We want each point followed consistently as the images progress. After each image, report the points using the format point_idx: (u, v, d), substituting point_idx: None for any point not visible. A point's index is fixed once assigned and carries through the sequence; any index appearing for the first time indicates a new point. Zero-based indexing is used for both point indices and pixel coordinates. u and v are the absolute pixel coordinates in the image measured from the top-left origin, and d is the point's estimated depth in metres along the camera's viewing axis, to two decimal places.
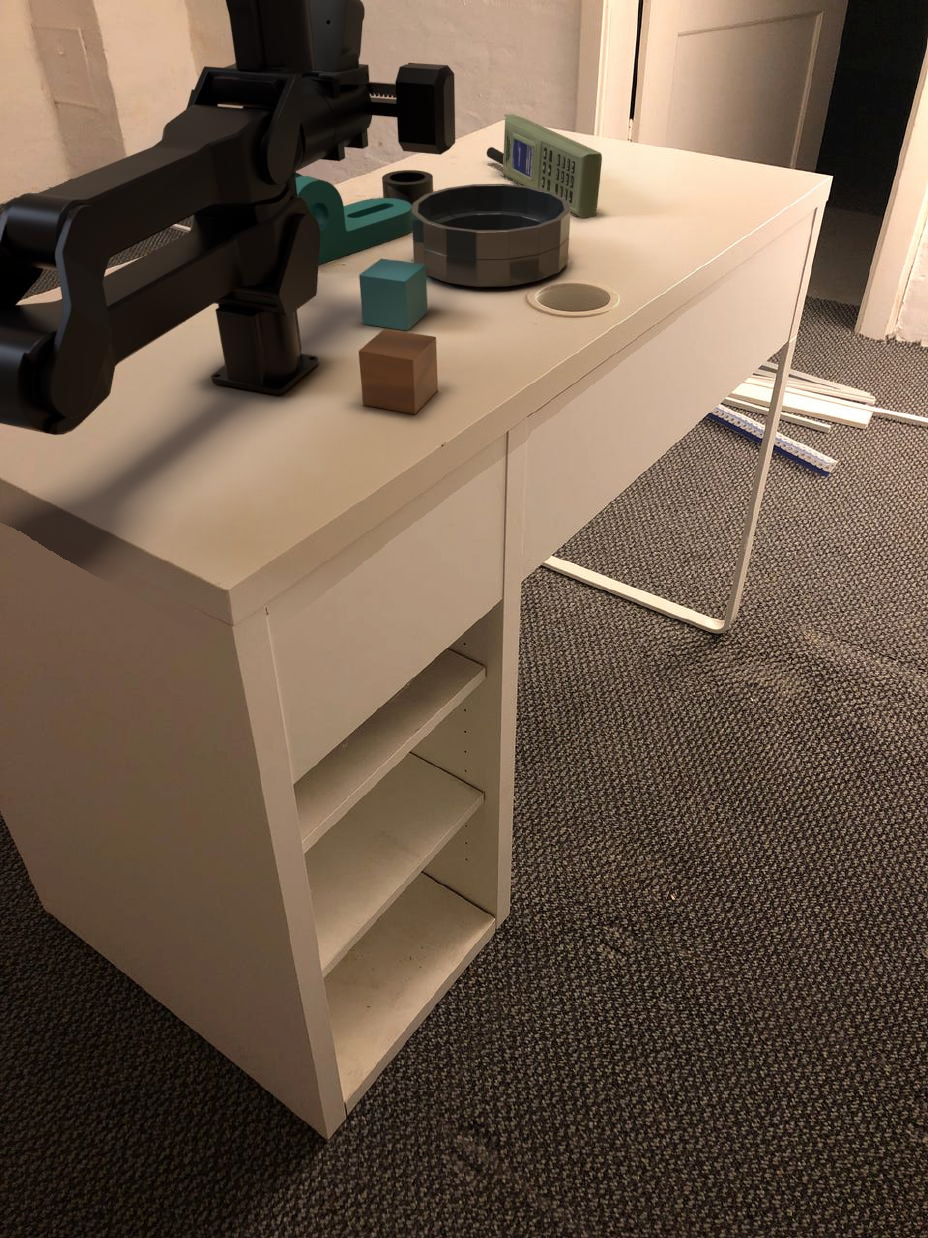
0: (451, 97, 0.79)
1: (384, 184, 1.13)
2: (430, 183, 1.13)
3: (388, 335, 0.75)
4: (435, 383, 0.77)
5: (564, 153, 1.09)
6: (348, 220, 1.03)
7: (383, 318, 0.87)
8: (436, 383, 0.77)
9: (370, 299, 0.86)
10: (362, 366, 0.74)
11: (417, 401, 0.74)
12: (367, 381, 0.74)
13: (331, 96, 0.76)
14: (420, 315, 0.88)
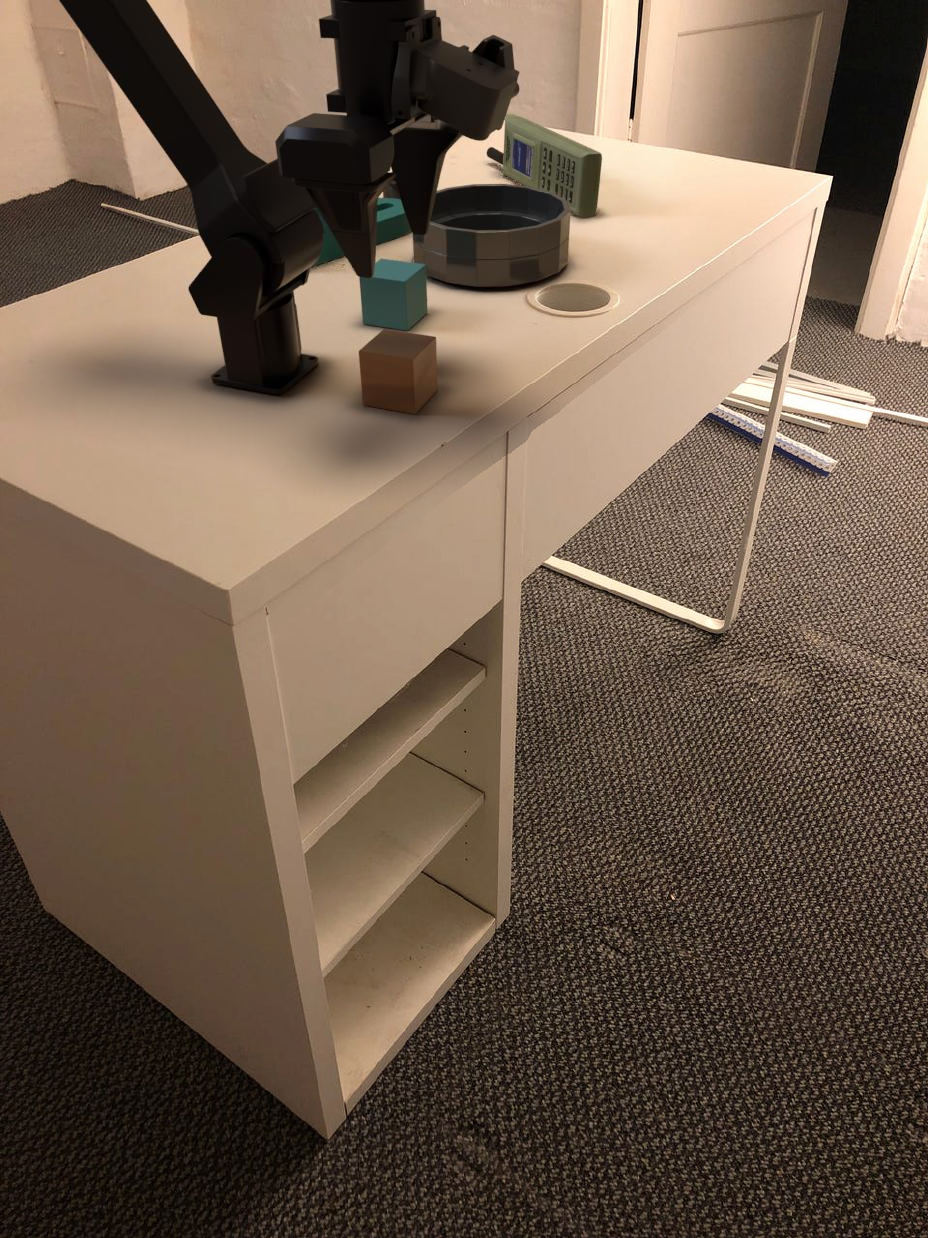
0: (333, 168, 0.58)
1: None
2: None
3: (388, 335, 0.75)
4: (435, 383, 0.77)
5: (564, 153, 1.09)
6: None
7: (383, 318, 0.87)
8: (436, 383, 0.77)
9: (370, 299, 0.86)
10: (362, 366, 0.74)
11: (417, 401, 0.74)
12: (367, 381, 0.74)
13: (389, 19, 0.59)
14: (420, 315, 0.88)
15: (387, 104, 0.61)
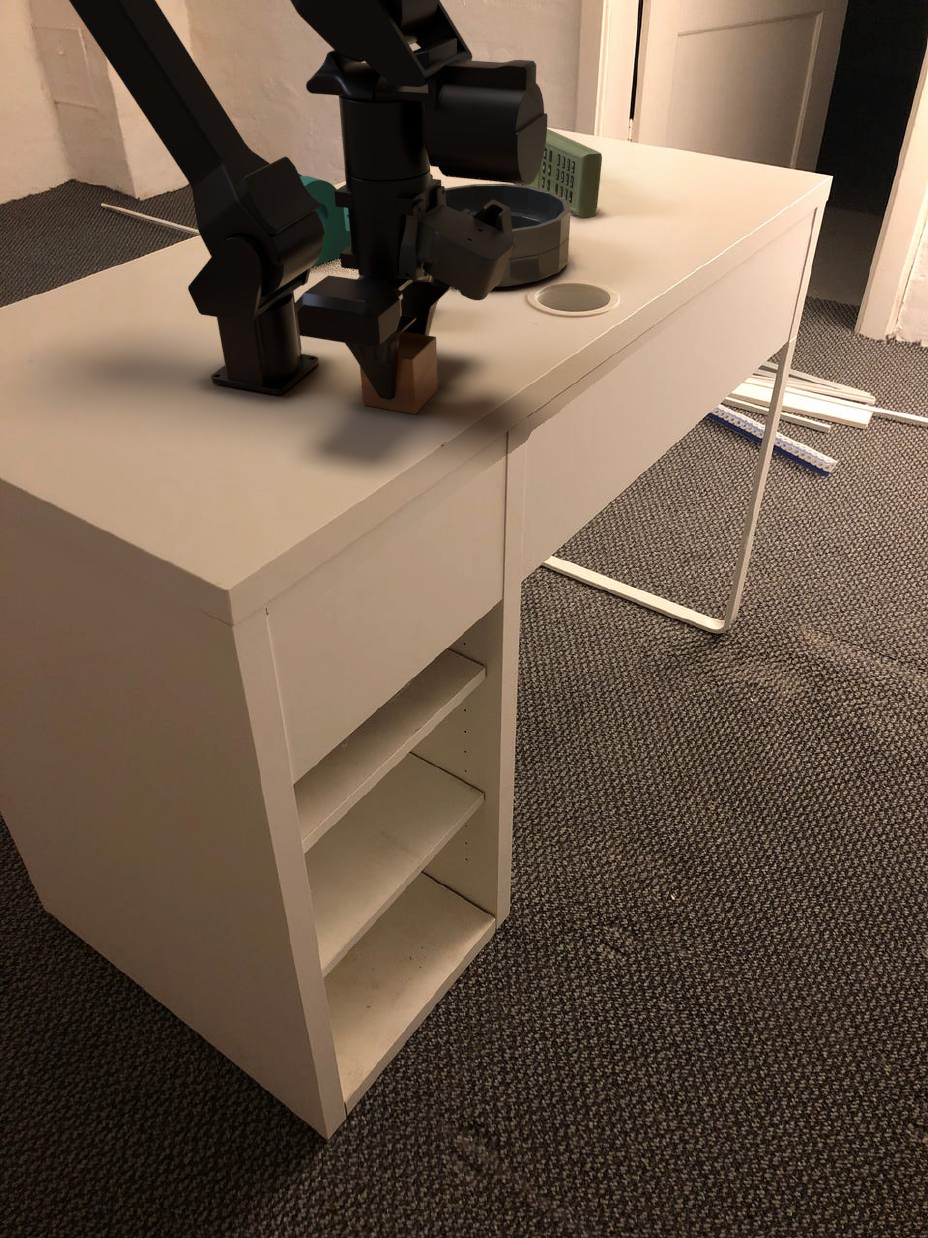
0: (345, 332, 0.64)
1: None
2: None
3: None
4: (435, 383, 0.77)
5: (564, 153, 1.09)
6: (348, 220, 1.03)
7: None
8: (436, 383, 0.77)
9: None
10: None
11: (417, 400, 0.74)
12: (367, 381, 0.74)
13: (398, 196, 0.65)
14: None
15: (395, 265, 0.68)
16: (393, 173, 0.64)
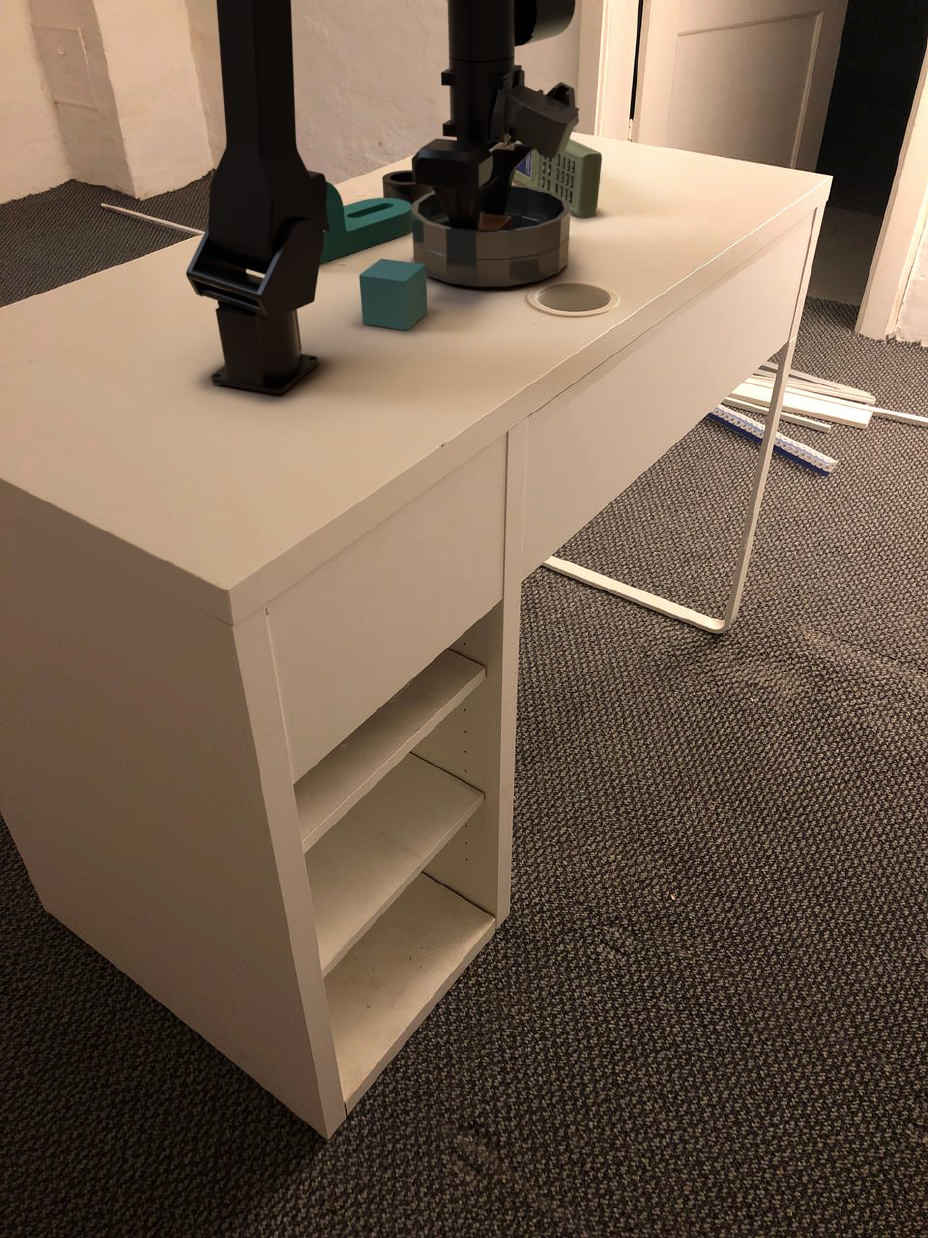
0: (452, 178, 0.84)
1: (384, 184, 1.13)
2: None
3: None
4: None
5: (564, 153, 1.09)
6: (348, 220, 1.03)
7: (383, 318, 0.87)
8: None
9: (370, 299, 0.86)
10: None
11: None
12: None
13: (491, 74, 0.85)
14: (420, 315, 0.88)
15: (486, 132, 0.87)
16: (514, 49, 0.86)
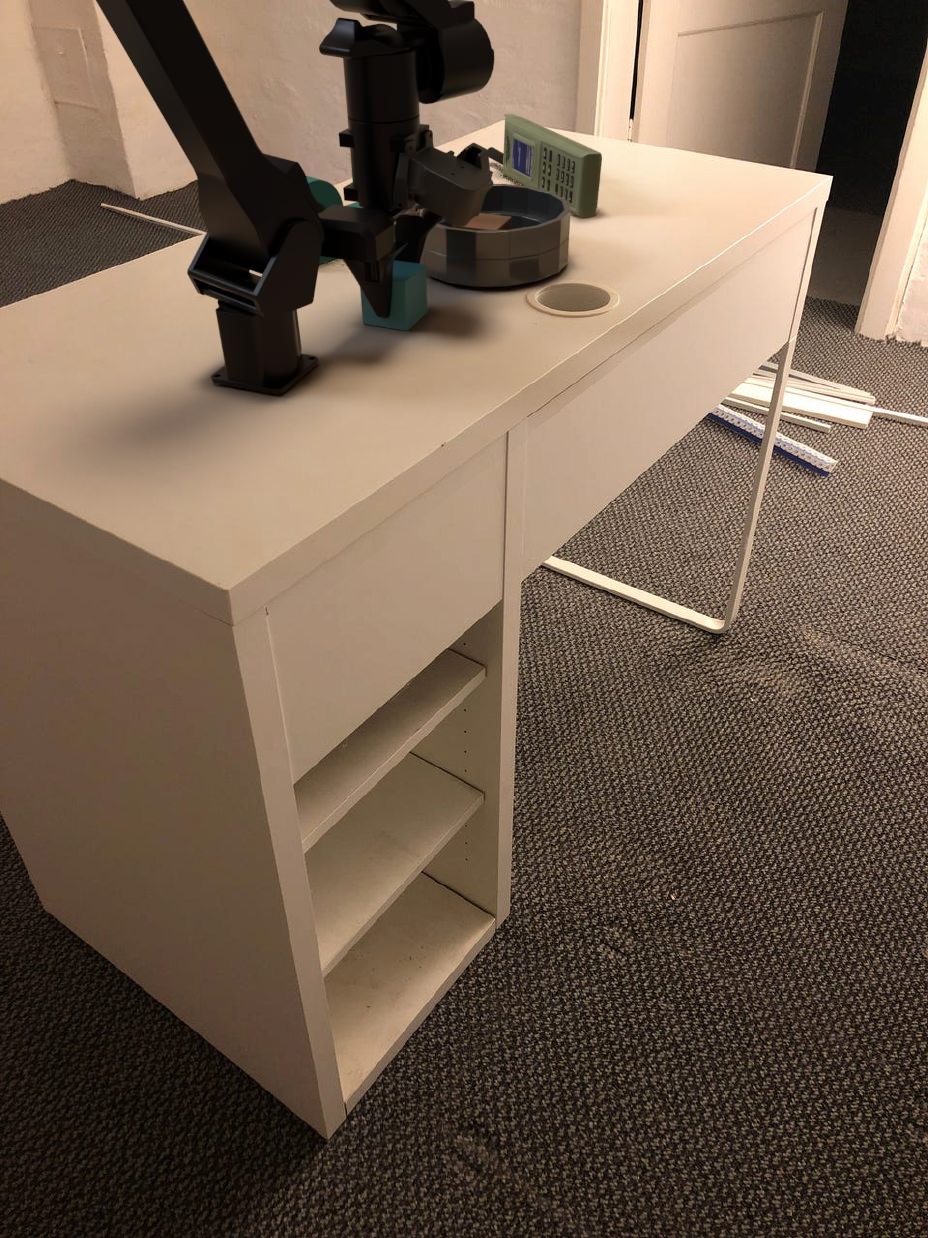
0: (348, 250, 0.76)
1: None
2: None
3: None
4: None
5: (564, 153, 1.09)
6: None
7: (383, 318, 0.87)
8: None
9: None
10: None
11: None
12: None
13: (392, 136, 0.77)
14: (420, 315, 0.88)
15: (390, 197, 0.80)
16: None
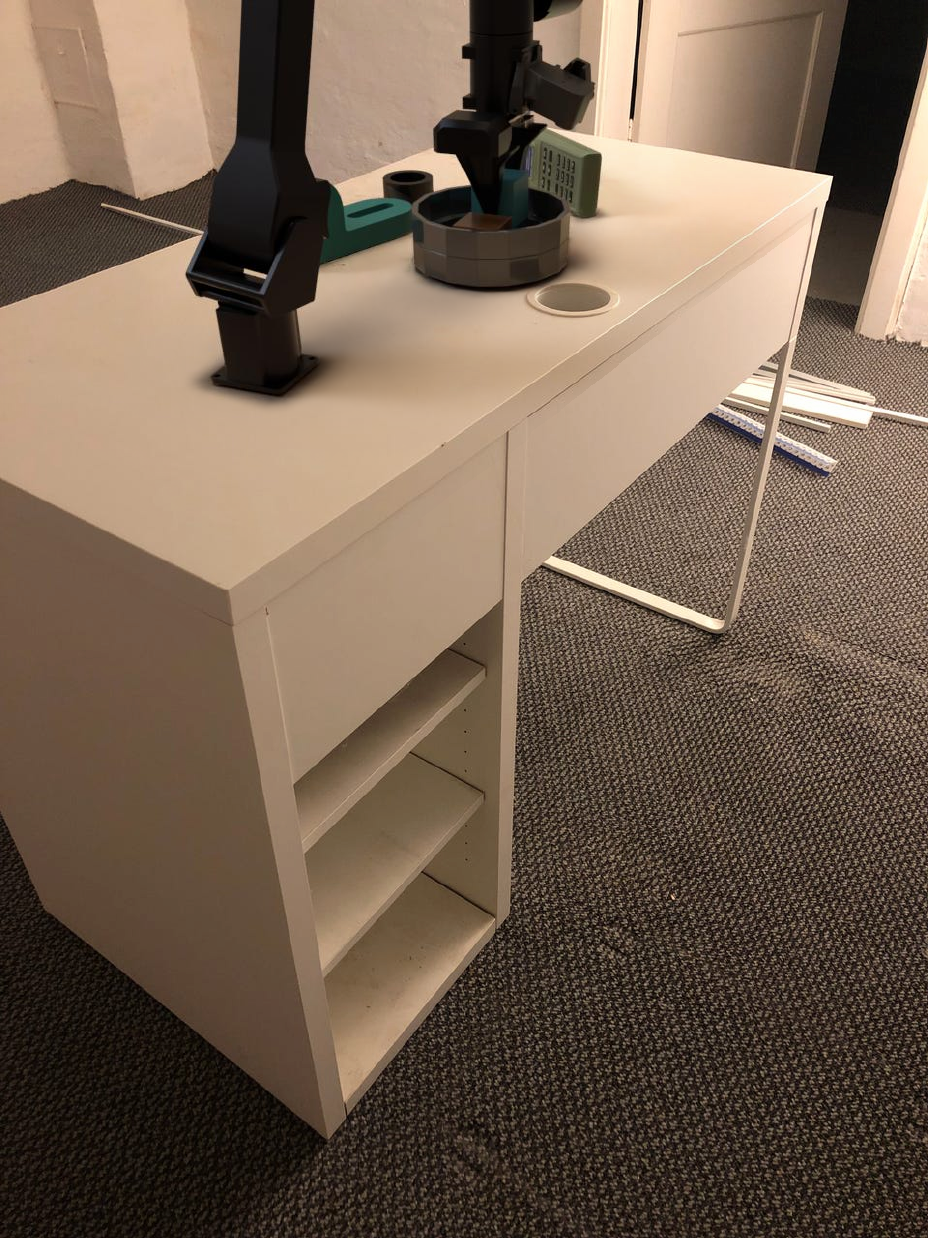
0: (473, 147, 0.86)
1: (384, 184, 1.13)
2: (431, 183, 1.13)
3: (474, 215, 0.96)
4: None
5: (564, 153, 1.09)
6: (348, 220, 1.03)
7: None
8: None
9: None
10: None
11: None
12: None
13: (511, 47, 0.87)
14: (522, 218, 0.99)
15: (505, 104, 0.90)
16: None
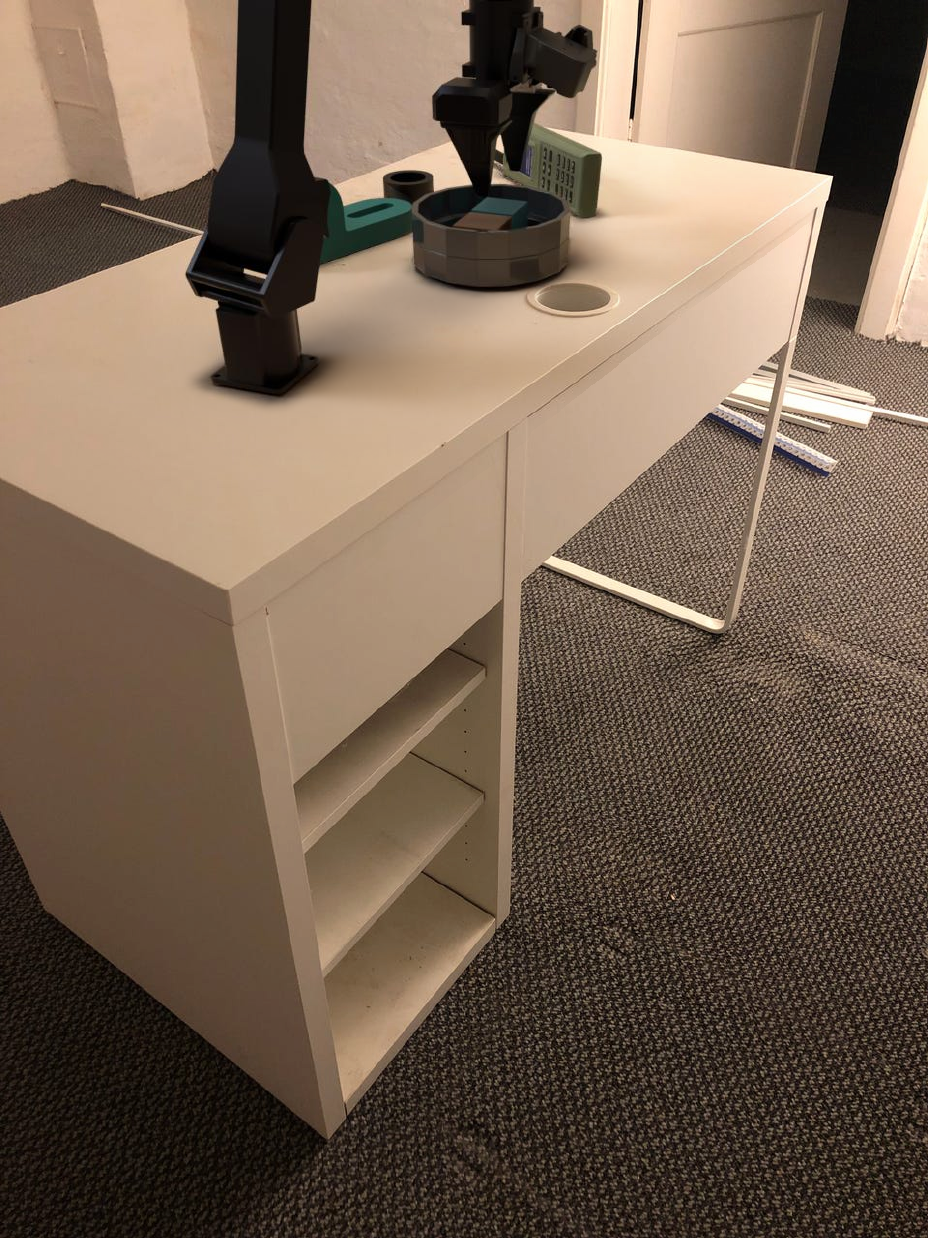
0: (473, 114, 0.85)
1: (385, 184, 1.13)
2: (431, 183, 1.13)
3: (474, 215, 0.96)
4: None
5: (564, 153, 1.09)
6: (348, 220, 1.03)
7: None
8: None
9: None
10: None
11: None
12: None
13: (511, 13, 0.86)
14: None
15: (506, 72, 0.88)
16: None
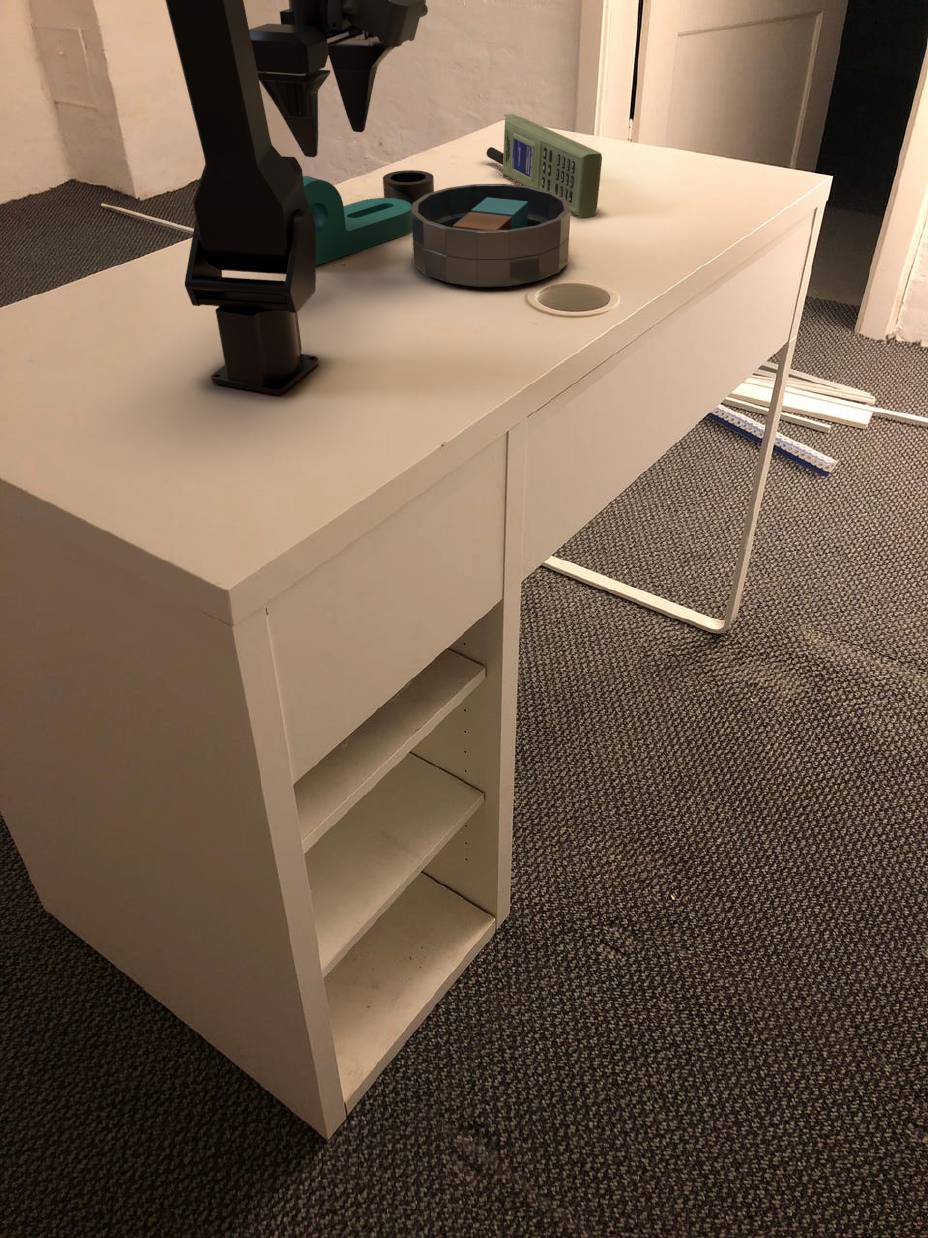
0: (280, 62, 0.78)
1: (385, 184, 1.13)
2: (431, 183, 1.13)
3: (474, 215, 0.96)
4: None
5: (564, 153, 1.09)
6: (348, 220, 1.03)
7: None
8: None
9: None
10: None
11: None
12: None
13: None
14: None
15: (325, 18, 0.81)
16: None
